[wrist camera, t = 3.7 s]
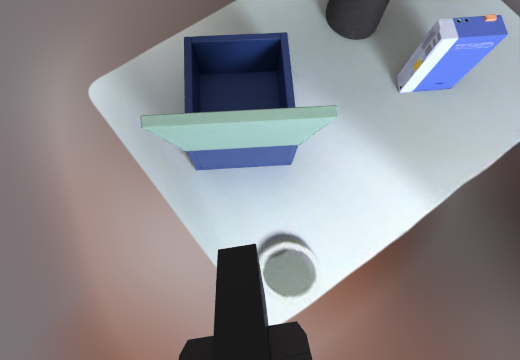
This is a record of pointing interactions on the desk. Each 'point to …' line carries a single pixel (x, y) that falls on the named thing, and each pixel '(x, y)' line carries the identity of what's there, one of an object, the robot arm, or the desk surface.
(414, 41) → the desk surface
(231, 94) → the case
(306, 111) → the case lid
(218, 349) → the robot arm
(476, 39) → the walkman
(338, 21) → the container
